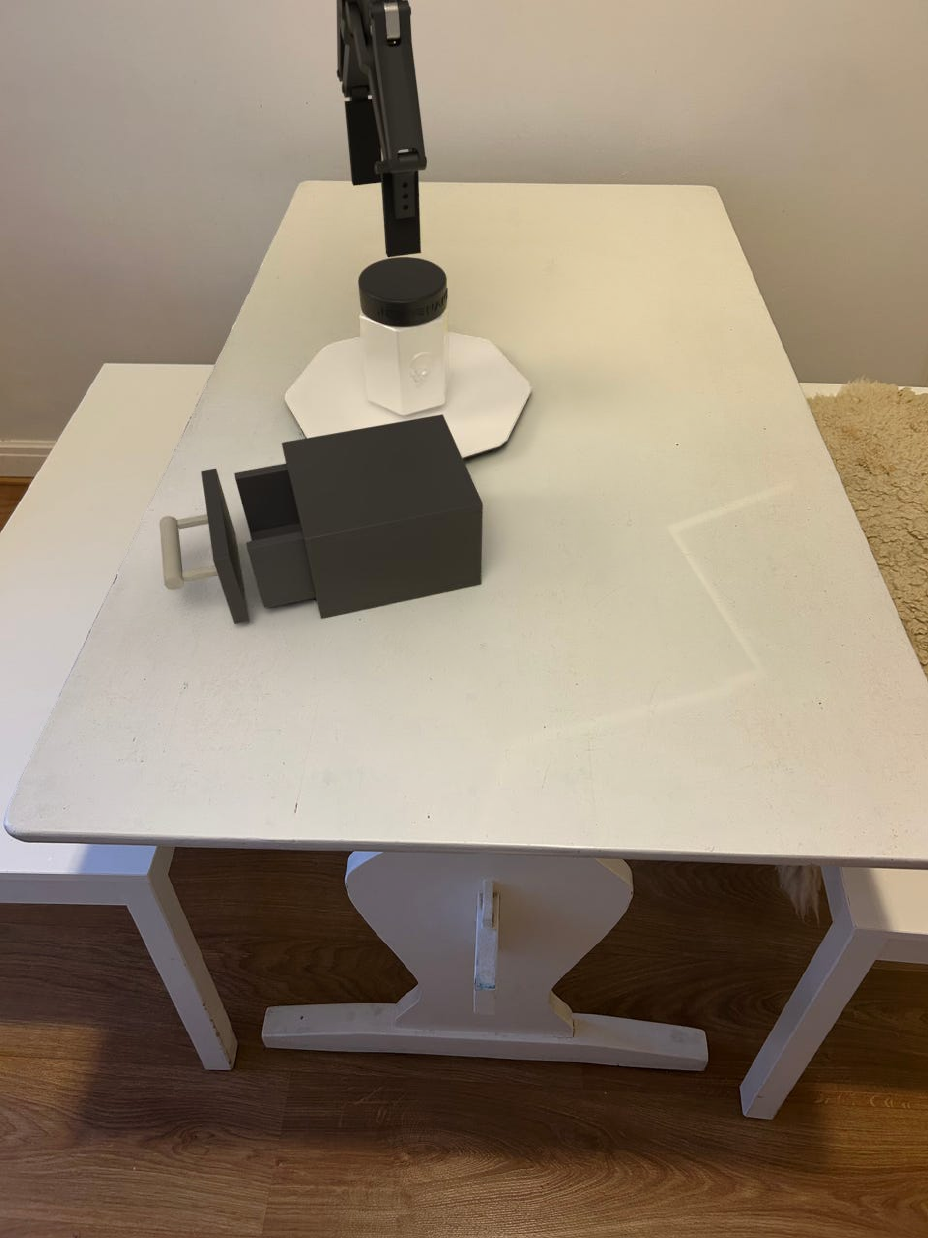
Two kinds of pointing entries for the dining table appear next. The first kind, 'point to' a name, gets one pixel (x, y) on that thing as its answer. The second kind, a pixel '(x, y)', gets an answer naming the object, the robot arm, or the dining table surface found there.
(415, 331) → the jar
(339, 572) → the dark grey box
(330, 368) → the plate
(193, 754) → the dining table surface
